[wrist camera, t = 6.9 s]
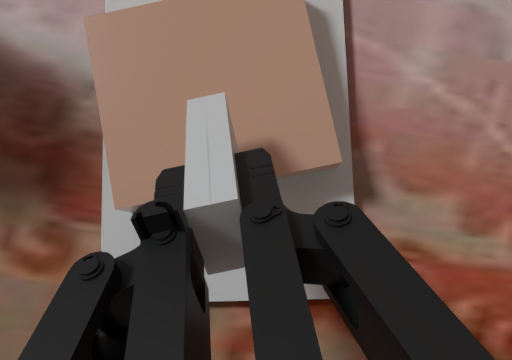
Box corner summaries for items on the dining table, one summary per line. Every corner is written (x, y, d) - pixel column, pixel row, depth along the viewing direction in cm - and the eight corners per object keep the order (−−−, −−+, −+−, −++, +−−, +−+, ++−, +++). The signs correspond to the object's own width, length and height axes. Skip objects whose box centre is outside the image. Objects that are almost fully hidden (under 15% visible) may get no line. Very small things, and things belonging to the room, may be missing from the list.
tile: (342, 161, 19) (297, -29, 20) (114, 209, 19) (83, 17, 20) (335, 169, 21) (295, -5, 22) (130, 212, 21) (100, 37, 22)
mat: (105, 302, 21) (100, 304, 20) (111, -147, 24) (107, -157, 23) (357, 296, 20) (359, 298, 20) (331, -161, 23) (332, -171, 23)
